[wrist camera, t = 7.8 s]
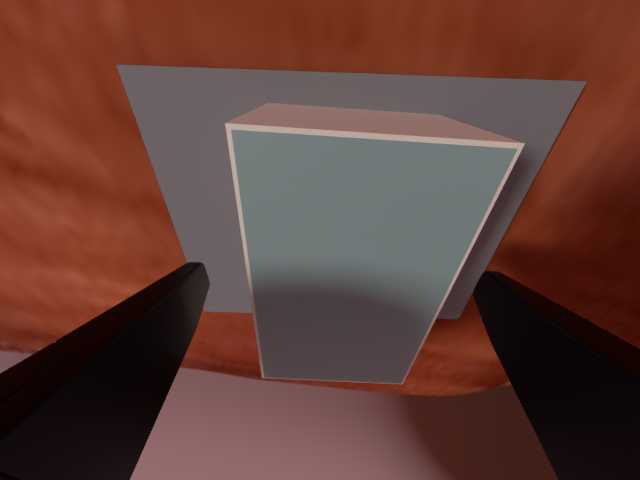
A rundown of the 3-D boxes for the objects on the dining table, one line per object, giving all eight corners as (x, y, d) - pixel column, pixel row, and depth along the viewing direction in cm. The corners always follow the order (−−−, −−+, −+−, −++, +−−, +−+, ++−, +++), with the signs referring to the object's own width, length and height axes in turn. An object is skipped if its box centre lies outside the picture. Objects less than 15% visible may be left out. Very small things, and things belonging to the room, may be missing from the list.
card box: (382, 304, 13) (402, 384, 9) (278, 299, 13) (261, 378, 9) (439, 114, 8) (525, 144, 4) (267, 103, 8) (225, 123, 4)
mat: (575, 80, 8) (586, 81, 7) (455, 313, 14) (458, 319, 13) (125, 65, 8) (116, 64, 7) (207, 305, 14) (204, 311, 13)
